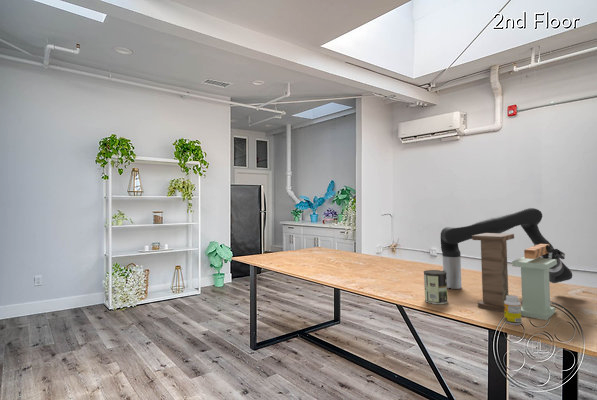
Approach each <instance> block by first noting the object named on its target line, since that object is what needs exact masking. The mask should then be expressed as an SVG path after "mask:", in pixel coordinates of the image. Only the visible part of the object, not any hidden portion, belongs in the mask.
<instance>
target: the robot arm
mask: <svg viewBox="0 0 597 400" xmlns="http://www.w3.org/2000/svg"><path fill="white" fill-rule="evenodd" d="M542 218H543V213H542V211H541V210H540V209H537V208H534V207H529V208H524V209H522V210H519V211H516V212H513V213H512V212H511V213H508V214H504V215H500V216H495V217H490V218H485V219H481V220H479V221H476V222H474V223H472V224H469V225H465V226H459V227H453V226H447V227H444V228H442V230H441V231H440V248H441V254H442V271H445V272H447V274H446V276H447V289H449V288H451V290H459V289H462V286H463V284H462V260H461V259H462V258H461V256H462V255H461V251H460V248H459V243H463V242H466V241H469V240H472V235H478V234H483V233H501V234H503V233H505V232H507V231H510V230H511V229H513V228H515V227H518V226H520V227H521V228H522V230H523V231H524V232H525V233H526V235H527V236H528V238H529V239H530V240H531V242H532V244H533V246H536V245H538V244H549V245H546V250H547V252H548V253H547V254H545V255H543V256H540V257H538V258H545V259H557V264H556V265H555V266H553V267H551V268H549V283H552V284H558V283H561V282H566V281H570V280H572V278H573V273H572V271H571V269H570V268H569V267H568V266H567V265H565V263H564V262H563V261H562V260H565V258H566V254H565V252H563V251H561V250H559V249H558V248H554V246H553V245H552V243H551V242H549V240H547V238H545V237H544V235H543V234H542V233H541V230H540V228H539V226H538V225H539V224H540V223H541V221H542Z"/></svg>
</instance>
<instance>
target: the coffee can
mask: <svg viewBox="0 0 597 400" xmlns="http://www.w3.org/2000/svg"><path fill="white" fill-rule="evenodd" d="M446 274H447V272H445V271H443V270H440V269H429V270H428V269H426V270H424V271H423V279H424V280H423V281H424V282H423V284H424V302H425V301H426V302H425V303H427V302H428V303H427V304H431V303H432V304H433V305H445V304H448V303H449V302H448V288H447V276H446ZM432 304H431V305H432Z"/></svg>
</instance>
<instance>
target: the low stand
mask: <svg viewBox="0 0 597 400" xmlns="http://www.w3.org/2000/svg"><path fill="white" fill-rule="evenodd" d="M556 264H557V259H545V258H536V259H527V258H525V256H522V257H520V258H517V259H515V260H512V261H511V265H512V267H517V268H520V277H521V278H520V279H521V282H520V283H521V317H522V316H523V317H527V318H532V319H538V320H544V321H548V320H549V319H550V318H551V317H552V316H553V315H554V314H555V313H556V307H554V306H551V293H550V291H551V288H550V282H549V268H551V267H553V266H555V265H556Z"/></svg>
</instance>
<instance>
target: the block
mask: <svg viewBox="0 0 597 400" xmlns="http://www.w3.org/2000/svg"><path fill="white" fill-rule="evenodd" d="M546 245H549V244H538V245H536V246H534V245H533V246H530V247H527V248H525V249H524V251H523V252H524V254H523V255H524V256H523V257H525V258H527V259H536V258H538V257H540V256H543V255H545V254H547V253H548V252H547V250H546Z"/></svg>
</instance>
